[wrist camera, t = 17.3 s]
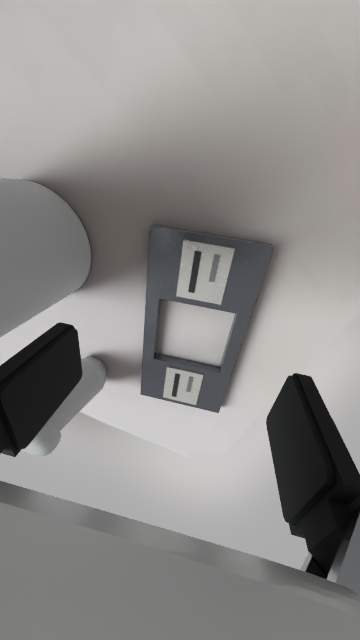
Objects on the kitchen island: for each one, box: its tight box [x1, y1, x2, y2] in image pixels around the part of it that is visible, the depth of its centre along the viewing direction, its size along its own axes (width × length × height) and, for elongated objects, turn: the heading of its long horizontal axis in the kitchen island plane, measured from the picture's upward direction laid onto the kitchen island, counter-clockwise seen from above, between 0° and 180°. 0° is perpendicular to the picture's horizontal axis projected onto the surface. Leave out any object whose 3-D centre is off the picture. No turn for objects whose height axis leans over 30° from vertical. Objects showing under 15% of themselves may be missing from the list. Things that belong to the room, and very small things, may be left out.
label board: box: [141, 225, 274, 413], centre depth 27 cm, size 24×12×2 cm, turn 173°
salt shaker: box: [22, 356, 107, 456], centre depth 28 cm, size 6×6×13 cm
